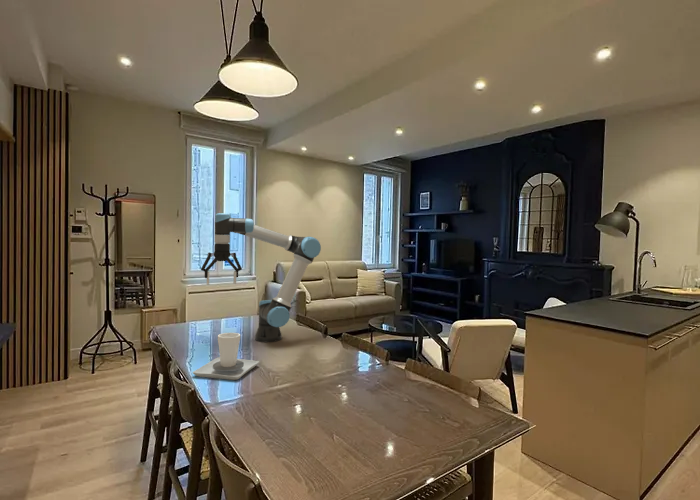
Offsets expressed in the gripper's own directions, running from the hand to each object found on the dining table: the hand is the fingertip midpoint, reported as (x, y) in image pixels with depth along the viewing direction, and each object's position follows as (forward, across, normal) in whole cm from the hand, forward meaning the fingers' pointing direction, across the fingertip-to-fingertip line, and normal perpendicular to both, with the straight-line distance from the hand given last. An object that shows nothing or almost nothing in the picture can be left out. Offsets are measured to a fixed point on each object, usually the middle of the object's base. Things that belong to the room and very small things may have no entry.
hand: (221, 284), depth 199 cm
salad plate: (+36, +4, +34) cm, 50 cm away
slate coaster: (+32, +4, +34) cm, 47 cm away
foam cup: (+32, +4, +34) cm, 47 cm away
